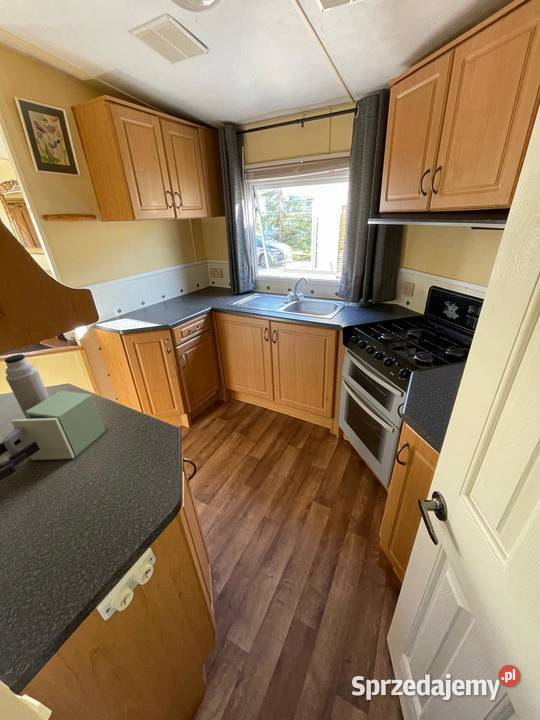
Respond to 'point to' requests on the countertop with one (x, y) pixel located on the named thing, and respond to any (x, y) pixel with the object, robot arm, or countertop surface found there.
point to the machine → (72, 417)
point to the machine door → (40, 438)
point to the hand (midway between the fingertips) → (27, 442)
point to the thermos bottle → (25, 382)
